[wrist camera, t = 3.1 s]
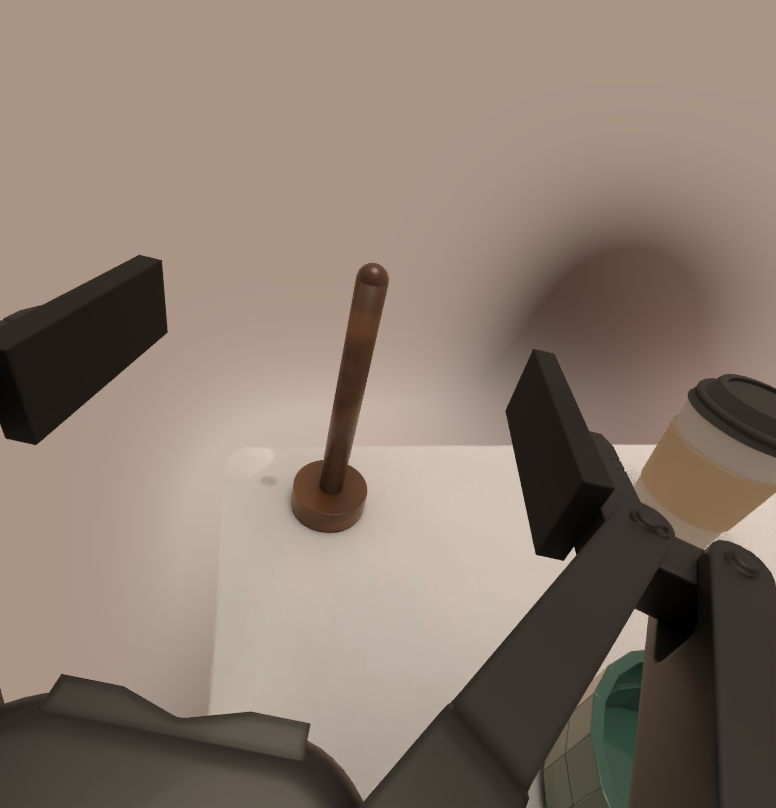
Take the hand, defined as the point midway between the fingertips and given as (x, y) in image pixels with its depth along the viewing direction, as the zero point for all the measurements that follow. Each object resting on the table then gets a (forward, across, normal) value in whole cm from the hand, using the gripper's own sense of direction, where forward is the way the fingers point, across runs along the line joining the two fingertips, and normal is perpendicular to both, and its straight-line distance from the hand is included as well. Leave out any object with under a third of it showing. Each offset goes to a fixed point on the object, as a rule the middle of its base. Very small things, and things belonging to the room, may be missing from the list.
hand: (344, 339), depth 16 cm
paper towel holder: (+10, 0, -20) cm, 22 cm away
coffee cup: (+16, +30, -20) cm, 39 cm away
